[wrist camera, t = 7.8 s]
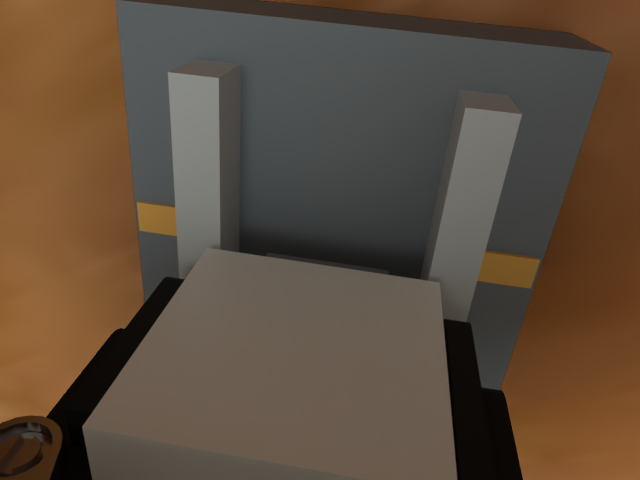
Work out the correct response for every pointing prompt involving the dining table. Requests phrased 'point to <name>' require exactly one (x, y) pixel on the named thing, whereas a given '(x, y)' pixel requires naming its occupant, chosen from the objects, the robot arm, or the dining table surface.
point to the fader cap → (282, 379)
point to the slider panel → (356, 145)
